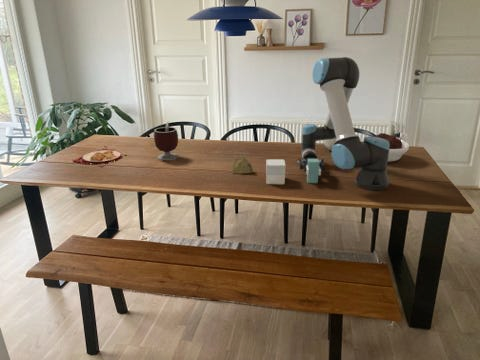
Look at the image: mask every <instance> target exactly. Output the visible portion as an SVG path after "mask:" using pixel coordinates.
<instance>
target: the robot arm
mask: <svg viewBox="0 0 480 360" xmlns="http://www.w3.org/2000/svg"><path fill="white" fill-rule="evenodd" d="M359 79H360V68H359V66H358V64H357V62H356V61H355V60H354V59H353V58H351V57H346V56H344V57H325V58H320V59H318V60H317V61H315V63H314V65H313V69H312V80H313V83H315V84H316V85H319V87H320V90H321V91H322V92H324V94H325V98H326V102H327V106H328V111H329V112H328V114H327V118H326V120H325V123H324V126H323V125H322V126H317V125H316V124H315V123H306V124H303V125H302V130H301V131H302V132H301V147H300V153H301V154H300V155H301V157H302V159H301V158H298V159H297V164H298V165H299V166H298V167H299V170H300V171H301V170H303V172H306V176H307V175H309V169H308V165H307V164H308V159H318V160H319V171H318V176H321V175H322V174H321V173H323V171H325V170H326V163H325V159H324V158H322V159H319V158H318V156H317V153H316V143H317V142H319V141H320V142H321V141H325V140H329V139H336V140H335V142H334V146H333V148H332V151H331V152H330V153H331V159H332V162H333V163H334V164H335V166H336V167H338V168H339V169H341V170H352V169H355V168H359V171H358V173H357V175H356V178H355V185H356V186H357V187H359V188H362V189H365V190H370V191H383V190H386V189H387V188H389V179H388V177H389V176H388V174H387V168H388V162H389V161H388V155H389V150H390V149H389V145H390V144H389V142H388V141H387V140H385V139H382V138H378V137H372V136H369V135H367V136H364V138H363V141H361V138H360V136H359V135H358V134H356V132H355V128H354V124H353V121H352V117H351V113H350V110H349V106H348V103H349V101H350V98H351V96H352V93H353V90H354V89H356V88H357V86H358V83H359V82H360V80H359Z"/></svg>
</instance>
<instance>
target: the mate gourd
mask: <svg viewBox="0 0 480 360" xmlns="http://www.w3.org/2000/svg"><path fill="white" fill-rule="evenodd" d="M153 131H154V133H153V141H154V144H155V146H156V148H157V149H158V150H159V151H161V152H164V153H162V154H159V155H157V157H156V158H157V160H159V161H163V160H169V161H174V160H177V159H178V158H179V155H178V154H176V153H171V152H172V151H174V150H175V149H176V148H177V147H178V144H179V134H178V131H177V128H176V127H171V126H170V125H169V121H167V122H166V124H165V126H164V127H163V126H162V127H157V128H155V129H154V130H153ZM176 158H177V159H176ZM173 159H174V160H173Z"/></svg>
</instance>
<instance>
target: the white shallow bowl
mask: <svg viewBox="0 0 480 360" xmlns="http://www.w3.org/2000/svg"><path fill="white" fill-rule="evenodd" d="M371 137H378V138H382V139H385V140H387V141H388V142H389V144H390V145H389V149H390V150H389V155H388V161H387V162H396V161H399V160H400V159H401V158H402V156H403V155H404V154H406V152H408V150H409V149H410V145H409V143H408V142H406V141H404V140H401V139H400V138H399V139H398V138H397V137H396V135H390V134H388V133H383V132H381V133H378V134H376V135H372V136H371Z"/></svg>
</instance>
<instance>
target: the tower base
mask: <svg viewBox="0 0 480 360" xmlns="http://www.w3.org/2000/svg"><path fill="white" fill-rule="evenodd" d="M265 174H266V177H265V183H266V185H285V183H286V182H285V181H286V180H285V178H286V174H285V175H267V173H265Z"/></svg>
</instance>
